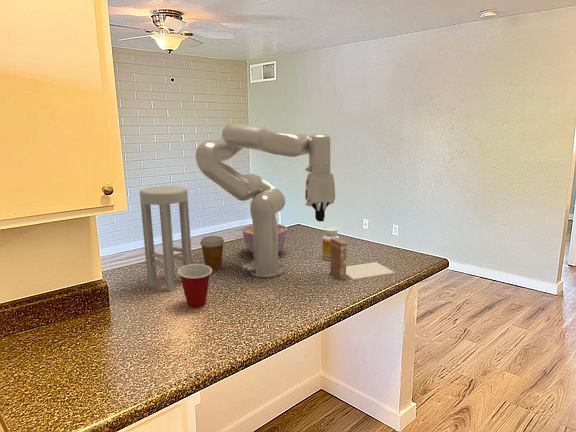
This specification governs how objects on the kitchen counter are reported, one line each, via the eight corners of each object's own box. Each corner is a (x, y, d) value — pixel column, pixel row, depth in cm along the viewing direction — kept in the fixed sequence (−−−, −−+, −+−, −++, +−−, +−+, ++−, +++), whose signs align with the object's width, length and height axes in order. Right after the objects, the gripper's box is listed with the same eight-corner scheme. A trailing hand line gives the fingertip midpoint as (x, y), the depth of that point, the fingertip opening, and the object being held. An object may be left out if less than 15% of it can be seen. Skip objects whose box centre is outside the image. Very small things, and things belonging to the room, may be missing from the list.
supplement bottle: (339, 260, 178) (340, 231, 176) (322, 260, 179) (323, 231, 176) (338, 255, 185) (338, 227, 183) (321, 255, 186) (322, 227, 183)
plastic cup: (193, 314, 131) (191, 277, 128) (173, 305, 137) (170, 270, 135) (220, 303, 139) (219, 268, 136) (200, 294, 145) (198, 261, 143)
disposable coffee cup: (227, 263, 176) (226, 235, 174) (222, 271, 167) (220, 242, 164) (205, 263, 177) (203, 235, 175) (198, 271, 168) (196, 242, 165)
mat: (353, 280, 156) (353, 278, 156) (337, 269, 168) (337, 267, 168) (394, 273, 163) (394, 272, 163) (376, 263, 175) (376, 262, 174)
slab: (339, 279, 157) (340, 243, 154) (330, 272, 165) (330, 238, 161) (345, 279, 158) (346, 242, 155) (336, 272, 165) (336, 237, 162)
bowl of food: (236, 250, 194) (235, 226, 191) (276, 244, 202) (276, 221, 199) (251, 263, 176) (251, 236, 174) (295, 256, 184) (295, 231, 182)
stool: (171, 273, 166) (164, 184, 158) (201, 280, 159) (195, 187, 151) (139, 286, 153) (130, 190, 146) (170, 294, 146) (162, 194, 138)
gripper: (304, 172, 143) (305, 225, 147) (343, 169, 149) (343, 220, 153) (296, 170, 150) (296, 220, 154) (333, 167, 155) (333, 216, 159)
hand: (320, 220), depth 153 cm, fingers closed
